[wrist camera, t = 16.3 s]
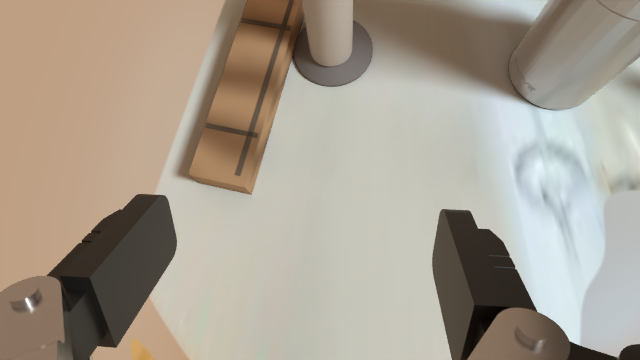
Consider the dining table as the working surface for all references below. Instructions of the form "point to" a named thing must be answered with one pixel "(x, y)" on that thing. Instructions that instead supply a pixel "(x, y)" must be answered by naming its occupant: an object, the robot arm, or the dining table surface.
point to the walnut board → (248, 95)
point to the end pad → (340, 72)
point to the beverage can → (329, 30)
